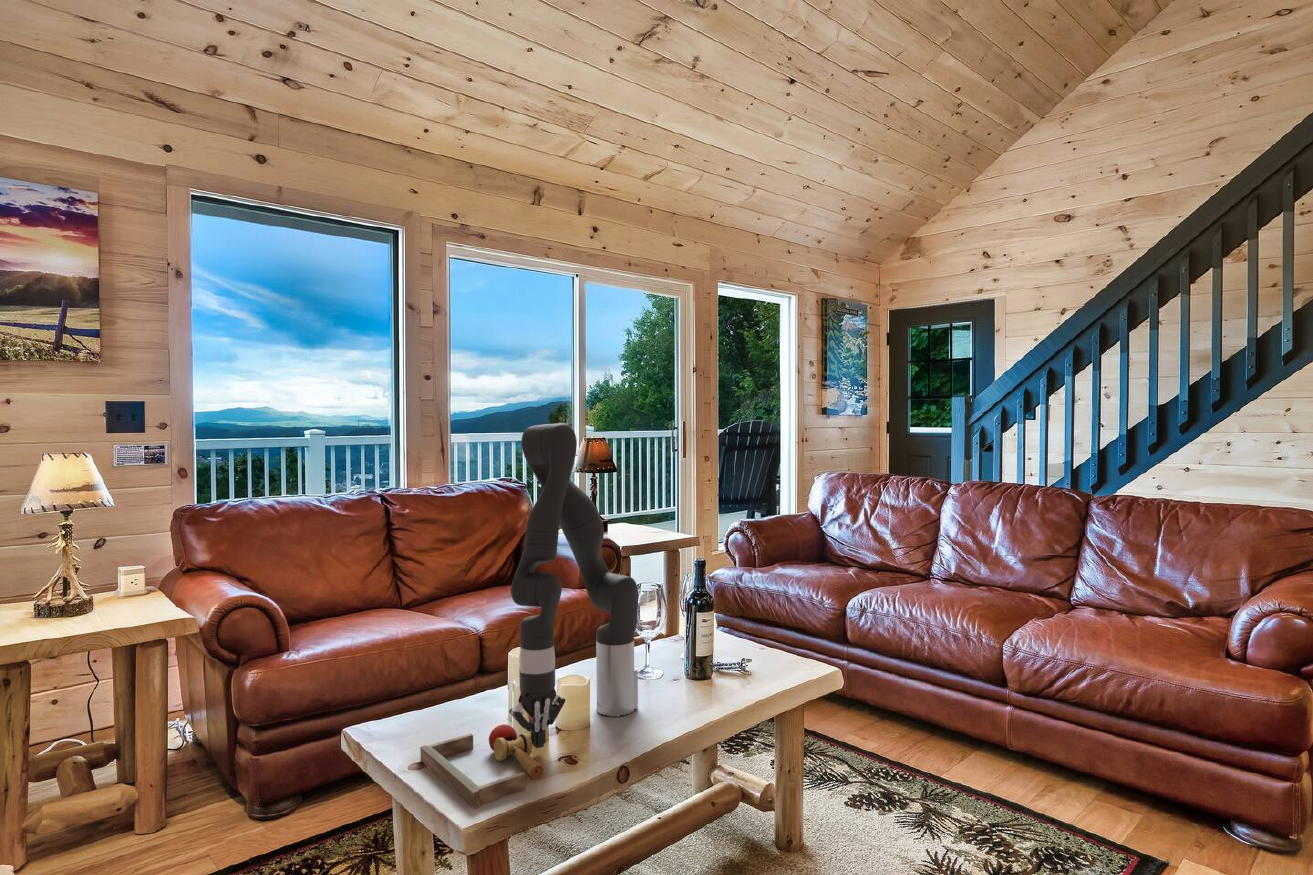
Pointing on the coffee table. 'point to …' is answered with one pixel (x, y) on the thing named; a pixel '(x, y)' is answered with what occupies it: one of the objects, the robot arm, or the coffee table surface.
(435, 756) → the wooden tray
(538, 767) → the kendama
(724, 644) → the coffee table surface
